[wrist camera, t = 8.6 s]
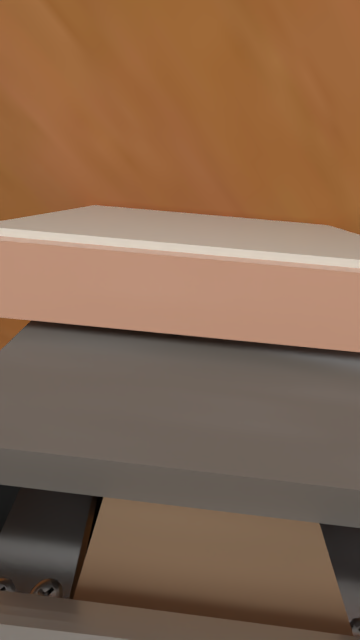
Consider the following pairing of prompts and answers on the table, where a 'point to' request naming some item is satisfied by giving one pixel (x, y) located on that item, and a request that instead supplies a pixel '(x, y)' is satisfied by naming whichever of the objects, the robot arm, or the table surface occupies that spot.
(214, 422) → the brown grey block
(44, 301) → the tile
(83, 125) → the table surface
